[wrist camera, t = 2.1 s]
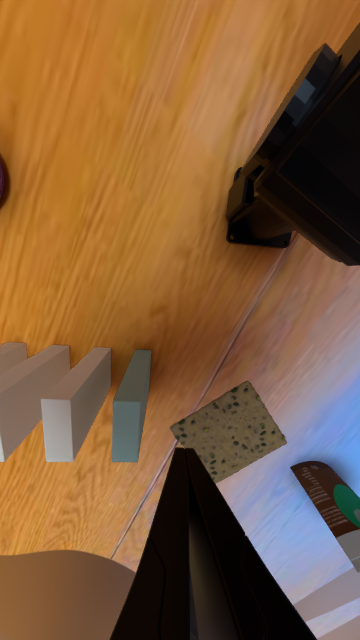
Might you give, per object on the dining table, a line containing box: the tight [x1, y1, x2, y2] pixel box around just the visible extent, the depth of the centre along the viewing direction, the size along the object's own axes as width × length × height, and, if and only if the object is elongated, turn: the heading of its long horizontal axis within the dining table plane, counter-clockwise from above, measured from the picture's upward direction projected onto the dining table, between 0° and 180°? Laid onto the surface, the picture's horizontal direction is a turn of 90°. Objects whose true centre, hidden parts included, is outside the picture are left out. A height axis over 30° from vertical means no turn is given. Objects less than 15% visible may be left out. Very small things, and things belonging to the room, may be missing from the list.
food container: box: [290, 461, 360, 573], centre depth 22 cm, size 12×6×10 cm, turn 34°
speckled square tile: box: [170, 381, 287, 483], centre depth 24 cm, size 12×12×1 cm
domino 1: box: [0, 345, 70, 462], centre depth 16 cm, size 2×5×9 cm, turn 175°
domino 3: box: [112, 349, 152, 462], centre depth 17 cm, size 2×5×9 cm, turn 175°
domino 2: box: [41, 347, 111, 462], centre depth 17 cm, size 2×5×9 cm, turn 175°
